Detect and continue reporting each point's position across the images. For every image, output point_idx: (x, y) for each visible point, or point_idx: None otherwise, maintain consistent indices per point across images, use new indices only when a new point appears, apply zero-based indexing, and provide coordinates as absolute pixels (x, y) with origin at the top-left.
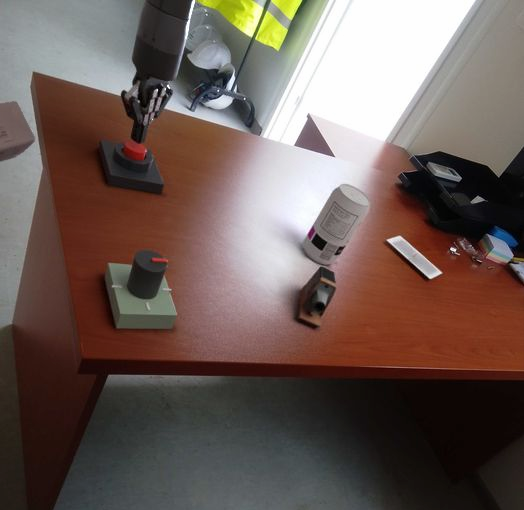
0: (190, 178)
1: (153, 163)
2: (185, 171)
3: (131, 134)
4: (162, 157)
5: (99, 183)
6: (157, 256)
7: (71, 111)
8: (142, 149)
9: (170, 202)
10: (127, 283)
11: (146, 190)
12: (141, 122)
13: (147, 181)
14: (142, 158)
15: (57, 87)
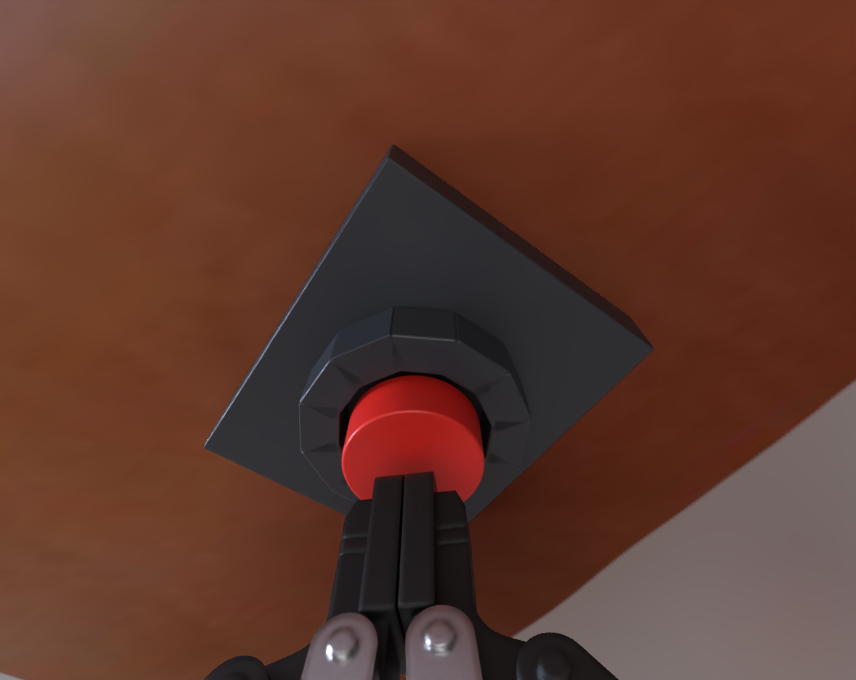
0: (30, 204)
1: (282, 356)
2: (25, 272)
3: (470, 547)
4: (112, 407)
5: (657, 341)
6: None
7: None
8: (388, 436)
9: (396, 43)
10: None
11: (473, 204)
12: (477, 641)
13: (486, 226)
14: (409, 383)
15: None
